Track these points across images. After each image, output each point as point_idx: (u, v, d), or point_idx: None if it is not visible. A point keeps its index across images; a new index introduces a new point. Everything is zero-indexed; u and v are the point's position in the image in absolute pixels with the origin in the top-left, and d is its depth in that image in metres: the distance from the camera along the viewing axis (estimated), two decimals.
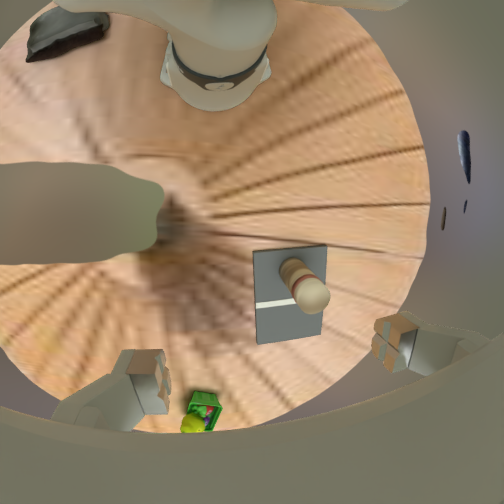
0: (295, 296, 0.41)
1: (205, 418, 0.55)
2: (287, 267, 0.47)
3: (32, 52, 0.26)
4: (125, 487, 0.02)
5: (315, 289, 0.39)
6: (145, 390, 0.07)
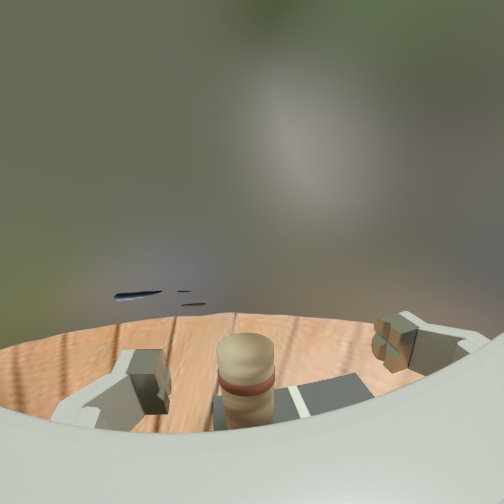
0: (249, 379, 0.21)
1: None
2: (233, 429, 0.23)
3: None
4: (125, 487, 0.02)
5: (225, 349, 0.22)
6: (145, 390, 0.07)
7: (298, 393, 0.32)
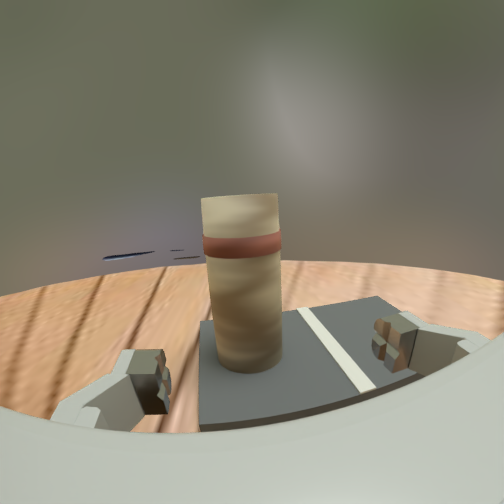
0: (245, 225, 0.16)
1: None
2: (224, 335, 0.18)
3: None
4: (125, 487, 0.02)
5: (213, 197, 0.18)
6: (145, 390, 0.07)
7: (310, 314, 0.27)
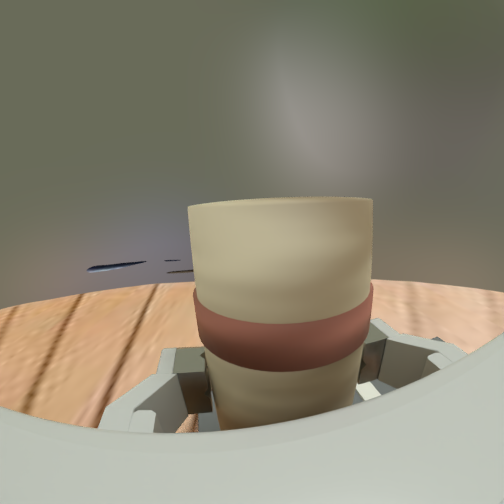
0: (313, 291, 0.05)
1: None
2: None
3: None
4: (125, 487, 0.02)
5: (218, 204, 0.07)
6: (192, 389, 0.07)
7: None
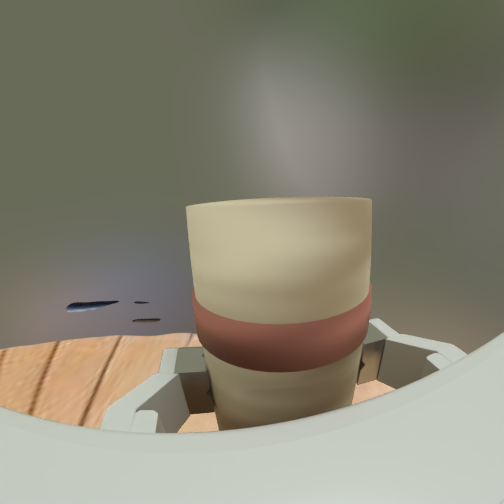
0: (311, 291, 0.05)
1: None
2: None
3: None
4: (125, 487, 0.02)
5: (217, 204, 0.07)
6: (194, 389, 0.07)
7: None
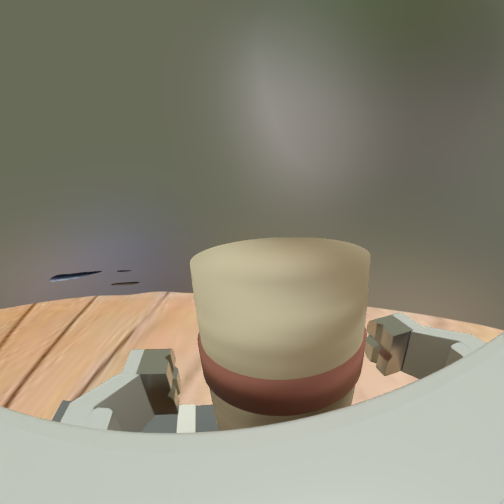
0: (308, 354, 0.06)
1: None
2: None
3: None
4: (125, 487, 0.02)
5: (220, 258, 0.07)
6: (156, 390, 0.07)
7: (193, 420, 0.15)
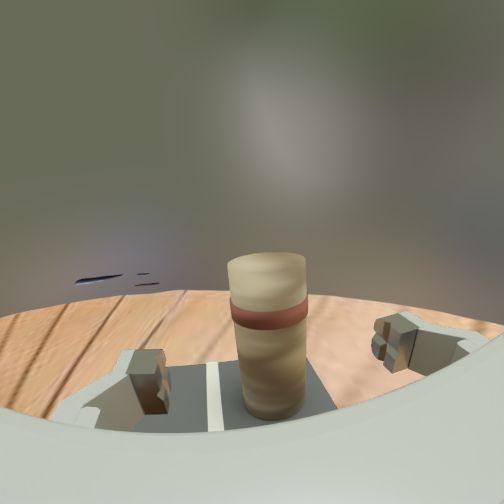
0: (276, 300, 0.16)
1: None
2: (252, 391, 0.18)
3: None
4: (125, 487, 0.02)
5: (240, 264, 0.17)
6: (145, 390, 0.07)
7: (217, 371, 0.25)
